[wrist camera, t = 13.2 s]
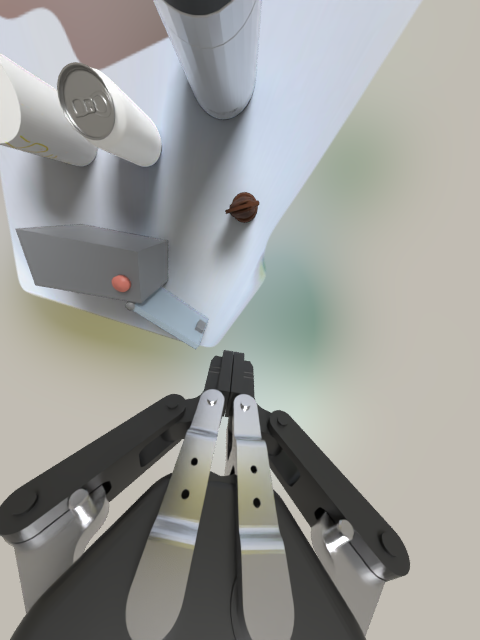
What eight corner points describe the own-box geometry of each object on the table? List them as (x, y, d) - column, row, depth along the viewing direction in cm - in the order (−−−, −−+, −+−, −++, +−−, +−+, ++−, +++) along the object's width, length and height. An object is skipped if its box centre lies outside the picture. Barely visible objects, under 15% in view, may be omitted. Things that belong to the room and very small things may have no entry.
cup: (39, 145, 31) (-67, 110, 20) (44, 80, 27) (-82, -3, 17) (92, 177, 33) (19, 160, 22) (102, 121, 29) (22, 69, 19)
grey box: (71, 221, 36) (-8, 226, 25) (168, 240, 37) (134, 252, 26) (80, 264, 40) (16, 284, 29) (168, 280, 41) (138, 305, 30)
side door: (205, 322, 44) (194, 350, 35) (151, 285, 40) (123, 307, 31) (210, 315, 44) (201, 343, 34) (156, 277, 40) (129, 297, 30)
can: (167, 165, 32) (127, 142, 21) (129, 169, 32) (72, 148, 21) (156, 110, 28) (103, 50, 18) (114, 115, 29) (38, 59, 18)
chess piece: (259, 218, 35) (264, 220, 26) (232, 226, 36) (228, 230, 27) (254, 189, 33) (257, 180, 24) (225, 197, 34) (218, 192, 25)
